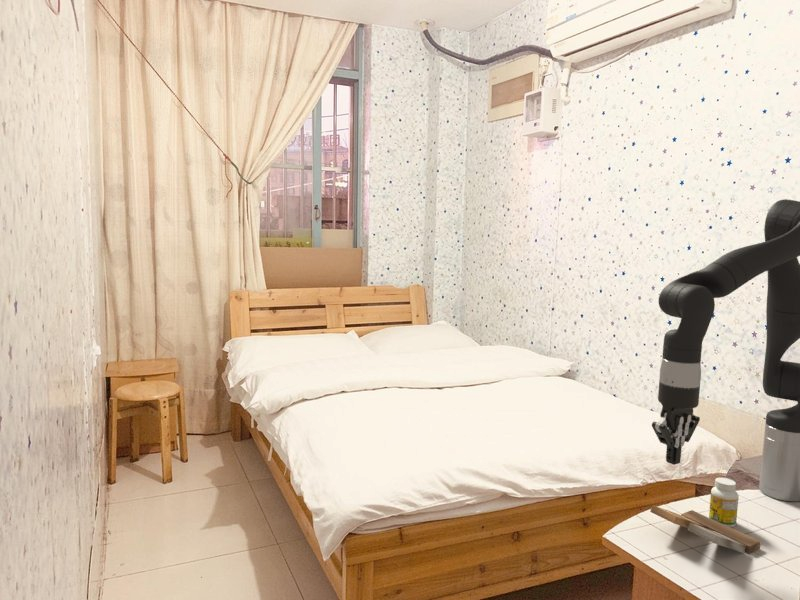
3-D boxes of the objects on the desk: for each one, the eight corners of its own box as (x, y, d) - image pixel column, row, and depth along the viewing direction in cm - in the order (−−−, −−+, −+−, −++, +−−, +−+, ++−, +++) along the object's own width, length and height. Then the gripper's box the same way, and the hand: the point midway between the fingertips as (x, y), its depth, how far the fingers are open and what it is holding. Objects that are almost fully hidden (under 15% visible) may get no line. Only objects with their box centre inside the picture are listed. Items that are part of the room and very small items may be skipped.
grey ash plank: (717, 540, 121) (719, 533, 122) (743, 552, 117) (746, 545, 117) (687, 530, 115) (689, 522, 115) (714, 543, 111) (716, 535, 111)
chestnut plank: (680, 521, 129) (682, 515, 129) (703, 533, 124) (706, 526, 124) (650, 511, 123) (652, 504, 123) (673, 523, 118) (676, 516, 118)
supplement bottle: (740, 529, 126) (744, 487, 125) (714, 527, 127) (717, 485, 126) (729, 517, 132) (733, 477, 131) (704, 515, 132) (708, 475, 131)
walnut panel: (691, 516, 132) (692, 510, 131) (759, 548, 119) (760, 541, 119) (680, 520, 130) (681, 514, 129) (748, 553, 117) (749, 546, 117)
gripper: (676, 390, 111) (669, 476, 113) (716, 381, 118) (709, 463, 120) (642, 380, 118) (636, 462, 120) (682, 373, 124) (676, 451, 126)
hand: (673, 462), depth 120 cm, fingers closed
